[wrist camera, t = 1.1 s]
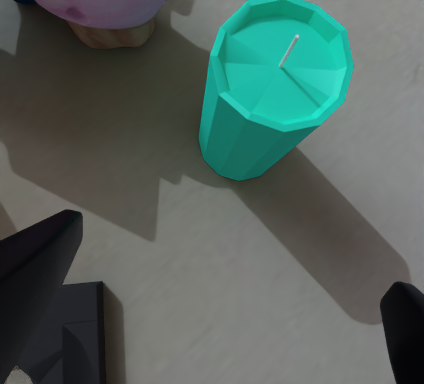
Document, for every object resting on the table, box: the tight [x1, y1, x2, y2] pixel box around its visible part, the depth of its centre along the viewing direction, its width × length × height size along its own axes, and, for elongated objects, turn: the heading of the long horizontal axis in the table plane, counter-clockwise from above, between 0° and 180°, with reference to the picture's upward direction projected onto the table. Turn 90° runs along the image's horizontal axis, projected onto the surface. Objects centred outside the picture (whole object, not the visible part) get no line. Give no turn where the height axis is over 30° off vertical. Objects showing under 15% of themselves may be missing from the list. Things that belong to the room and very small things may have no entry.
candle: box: [198, 0, 354, 181], centre depth 17 cm, size 6×6×12 cm
